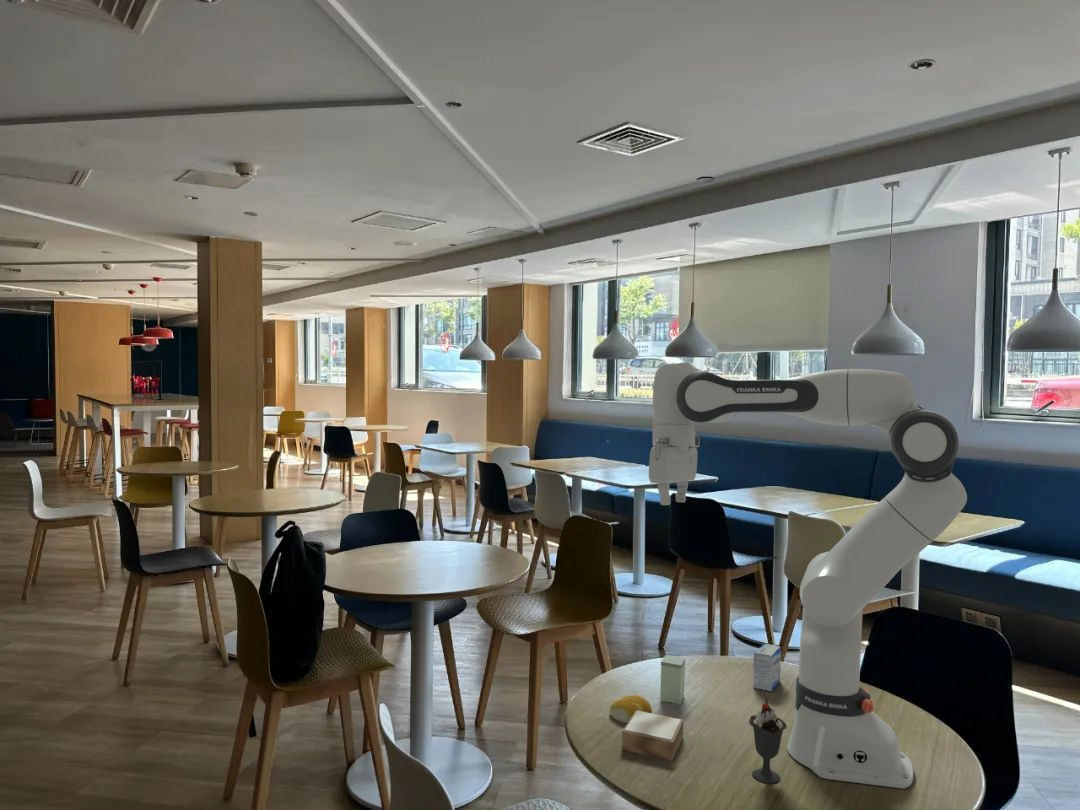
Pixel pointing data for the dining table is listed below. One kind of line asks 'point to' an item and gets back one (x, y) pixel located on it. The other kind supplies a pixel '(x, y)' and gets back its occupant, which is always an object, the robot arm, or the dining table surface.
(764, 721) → the sundae
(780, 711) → the dining table surface
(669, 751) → the wooden square block
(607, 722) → the dining table surface
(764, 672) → the medicine box
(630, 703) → the bread roll
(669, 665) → the green pillar block
